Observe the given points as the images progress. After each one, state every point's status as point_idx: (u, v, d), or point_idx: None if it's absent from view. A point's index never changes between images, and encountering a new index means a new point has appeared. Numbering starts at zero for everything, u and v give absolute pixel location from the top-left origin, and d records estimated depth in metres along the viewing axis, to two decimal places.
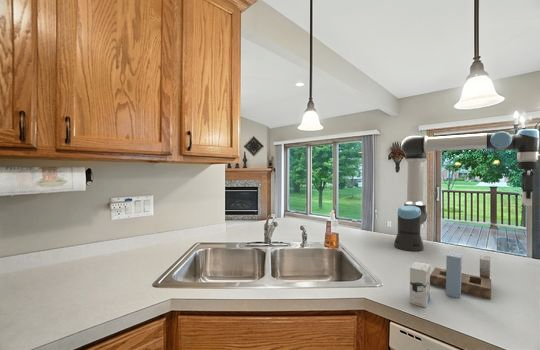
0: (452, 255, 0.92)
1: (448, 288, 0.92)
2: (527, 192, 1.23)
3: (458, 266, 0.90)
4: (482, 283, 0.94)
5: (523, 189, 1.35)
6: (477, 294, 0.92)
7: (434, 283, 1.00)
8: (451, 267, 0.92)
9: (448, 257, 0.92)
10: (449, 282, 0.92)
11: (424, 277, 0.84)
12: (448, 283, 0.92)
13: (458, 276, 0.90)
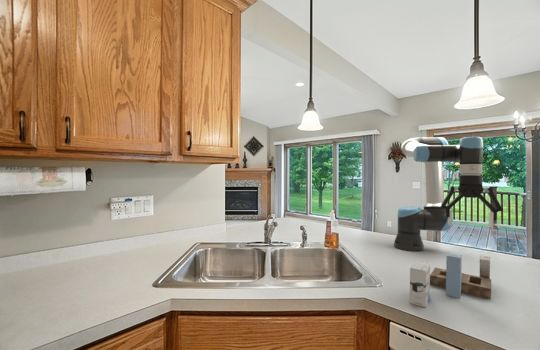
0: (452, 255, 0.92)
1: (448, 288, 0.92)
2: (445, 209, 1.11)
3: (458, 266, 0.90)
4: (482, 283, 0.94)
5: (491, 210, 1.05)
6: (477, 294, 0.92)
7: (434, 283, 1.00)
8: (451, 267, 0.92)
9: (448, 257, 0.92)
10: (449, 282, 0.92)
11: (424, 277, 0.84)
12: (448, 283, 0.92)
13: (458, 276, 0.90)
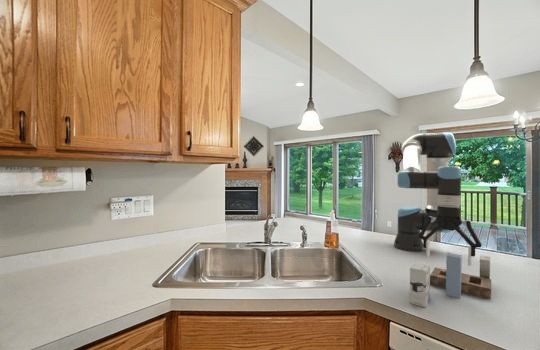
0: (452, 255, 0.92)
1: (448, 288, 0.92)
2: None
3: (458, 266, 0.90)
4: (482, 283, 0.94)
5: (471, 245, 0.98)
6: (477, 294, 0.92)
7: (434, 283, 1.00)
8: (451, 267, 0.92)
9: (448, 257, 0.92)
10: (449, 282, 0.92)
11: (424, 277, 0.84)
12: (448, 283, 0.92)
13: (458, 276, 0.90)
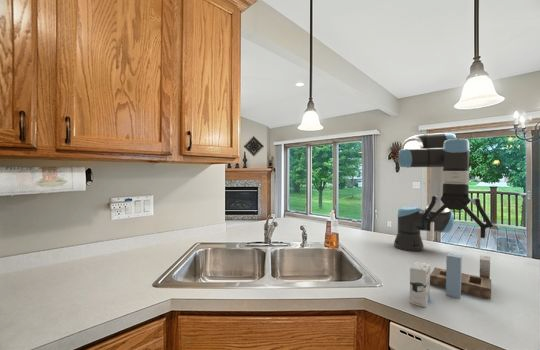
0: (452, 255, 0.92)
1: (448, 288, 0.92)
2: None
3: (458, 266, 0.90)
4: (482, 283, 0.94)
5: None
6: (477, 294, 0.92)
7: (434, 283, 1.00)
8: (451, 267, 0.92)
9: (448, 257, 0.92)
10: (449, 282, 0.92)
11: (424, 277, 0.84)
12: (448, 283, 0.92)
13: (458, 276, 0.90)
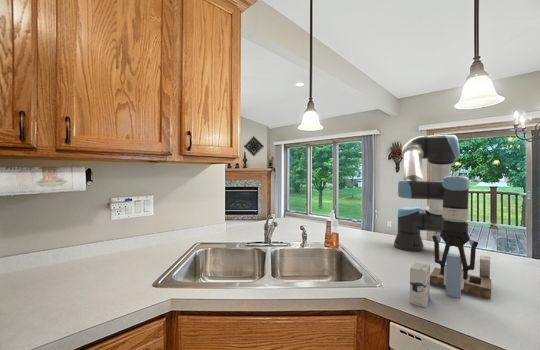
0: (452, 255, 0.92)
1: (448, 288, 0.92)
2: None
3: (458, 266, 0.90)
4: (482, 283, 0.94)
5: None
6: (477, 294, 0.92)
7: (434, 283, 1.00)
8: (451, 267, 0.92)
9: (448, 257, 0.92)
10: (449, 281, 0.92)
11: (424, 277, 0.84)
12: (448, 283, 0.92)
13: (458, 276, 0.90)
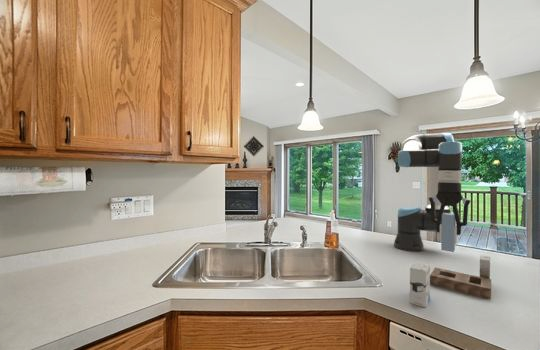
0: (447, 214, 1.02)
1: (443, 244, 1.01)
2: None
3: (452, 223, 0.99)
4: (482, 283, 0.94)
5: None
6: (477, 294, 0.92)
7: (434, 283, 1.00)
8: (446, 224, 1.01)
9: (443, 215, 1.01)
10: (444, 238, 1.01)
11: (424, 277, 0.84)
12: (443, 239, 1.01)
13: (452, 232, 0.99)
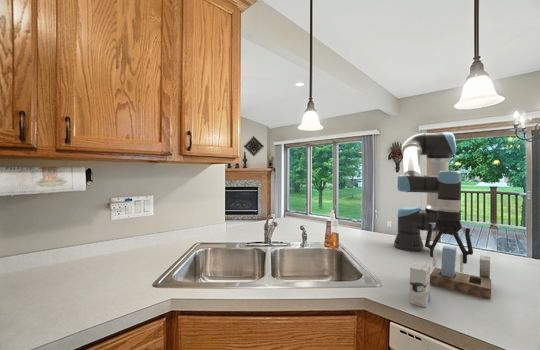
0: (448, 247, 1.02)
1: None
2: (430, 249, 1.06)
3: (452, 257, 0.99)
4: (482, 283, 0.94)
5: None
6: (477, 294, 0.92)
7: (434, 283, 1.00)
8: (446, 258, 1.01)
9: (444, 249, 1.01)
10: (443, 271, 1.01)
11: (424, 277, 0.84)
12: (443, 272, 1.02)
13: (452, 266, 1.00)
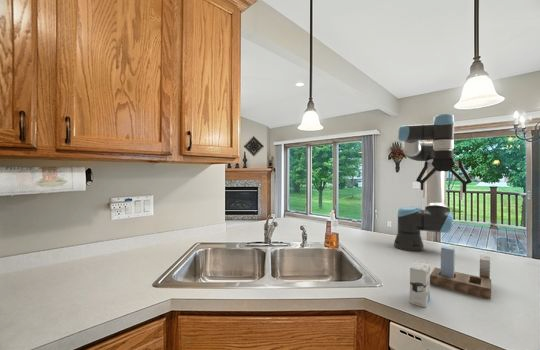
0: (446, 247, 1.02)
1: None
2: (421, 183, 1.21)
3: (451, 257, 1.00)
4: (482, 283, 0.94)
5: None
6: (477, 294, 0.92)
7: (434, 283, 1.00)
8: (445, 258, 1.01)
9: (442, 249, 1.02)
10: (443, 271, 1.02)
11: (424, 277, 0.84)
12: (442, 273, 1.02)
13: (451, 266, 1.00)
